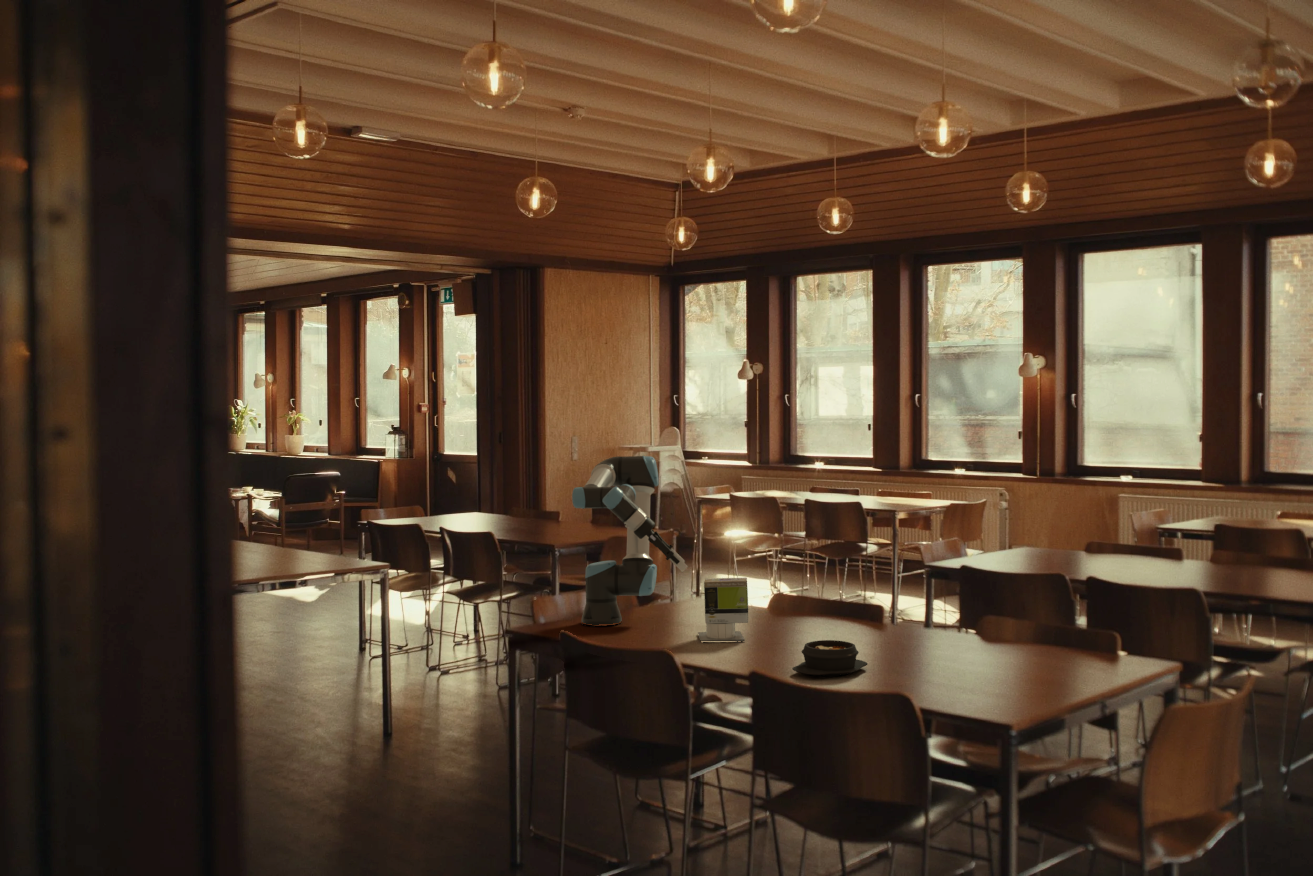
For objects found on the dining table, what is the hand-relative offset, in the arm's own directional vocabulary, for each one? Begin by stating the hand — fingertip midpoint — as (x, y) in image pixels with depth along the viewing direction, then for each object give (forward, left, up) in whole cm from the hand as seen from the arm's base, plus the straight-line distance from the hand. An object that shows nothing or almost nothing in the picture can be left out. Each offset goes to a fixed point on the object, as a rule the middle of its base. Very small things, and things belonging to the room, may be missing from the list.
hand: (683, 566), depth 395 cm
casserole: (+55, +40, -26) cm, 73 cm away
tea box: (0, +15, -20) cm, 25 cm away
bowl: (-1, +12, -25) cm, 28 cm away
